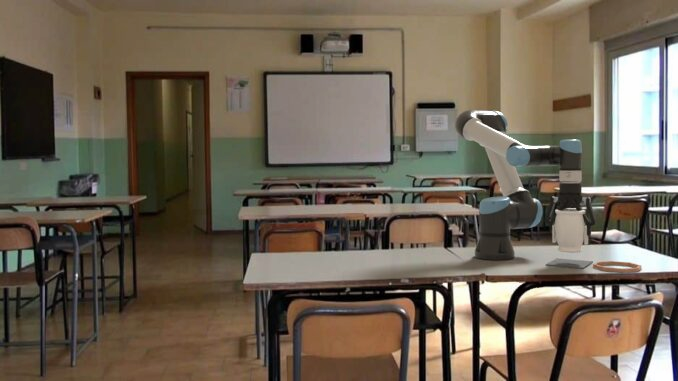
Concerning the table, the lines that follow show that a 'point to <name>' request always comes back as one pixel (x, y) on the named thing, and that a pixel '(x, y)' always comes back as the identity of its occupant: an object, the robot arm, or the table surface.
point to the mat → (569, 263)
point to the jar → (569, 230)
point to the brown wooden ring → (635, 269)
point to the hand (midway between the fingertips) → (570, 243)
